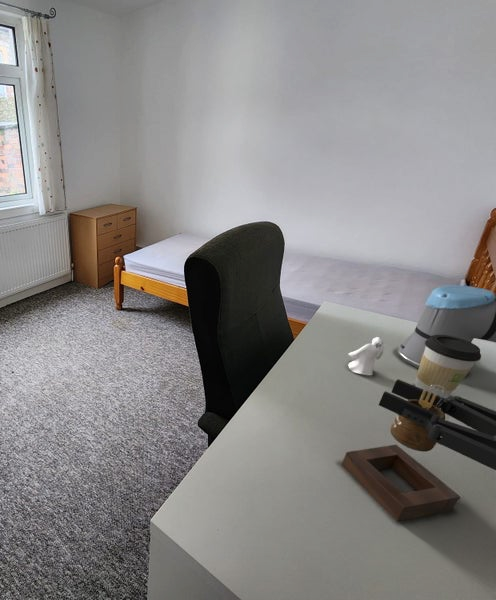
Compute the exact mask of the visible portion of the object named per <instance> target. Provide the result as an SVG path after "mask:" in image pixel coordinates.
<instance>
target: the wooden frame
mask: <svg viewBox="0 0 496 600" xmlns="http://www.w3.org/2000/svg"><path fill="white" fill-rule="evenodd" d="M341 466H342V468H344V470H346V472H348V473H349V475H350V476H352V478H353V479H354V480H356V481H357V482H358V484H360V485H361V487H363V488H364V489H365V491H366V492H367V493H368V494H369V495H370V496H371V497H372V498H373V499H374V500H375V501H376V502H377V503H378V504H379V505H380V506H381V507H382V508H383V509H384V510H385V511H386V512H387V513H388V514H389V515H390V516H391V517H392V518H393V520H395V521H396V522H399V521H404V520H410V519H415V518H419V517H426V516H430V515H435V514H440V513H445V512H446V513H447V512H451V511H453V510H454V508H455V507H456V505H457V503H458V502H459V500H460V499H461V496H460V495H459V494H458V493H457V492H455V491H454V490H453V489H452V488H451V487H450V486H448V485H447V484H446V483H445V482H443V481H442V480H441V479H439V478H438V477H437V476H436V475H435V474H434V473H432V472H431V471H430V470H428V468H426V467H424V466H423V465H422V464H421V463H420V462H419V461H417V460H416V459H415V458H414V457H412V456H411V455H410V454H408V453H407V452H406V451H405V450H403V448H401V447H400V446H399V445H397V444H391V445H383V446H377V447H371V448H365V449H358V450H351V451H346V452H345V455H344V457H343V459H342V462H341ZM390 468H391V469H392V470H393V471H394V472H396V473H397V474H398V475H399V476H400V477H401V478H402V479H403V480H405V482H407V483H408V484H409V485H410V486H411V487H413V488H414V489H415V490H414V491H408V492H402V491H400V489H399V488H398V487H396V486H395V485H394V483H392V482H391V481H390V480H389V479H388V478H386V476H384V474H382V473H381V472H380V471H379V470H384V469H390Z"/></svg>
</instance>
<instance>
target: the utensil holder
mask: <svg viewBox="0 0 496 600" xmlns="http://www.w3.org/2000/svg"><path fill="white" fill-rule="evenodd" d="M432 386H433V385H432ZM435 386H436V385H435ZM435 386H434V387H435ZM438 386H439V385H438ZM430 387H431V386H430ZM440 387H442V386H440ZM432 388H433V387H432ZM443 388H444V387H443ZM443 388H442V389H443ZM428 389H429V388H428ZM444 389H445V388H444ZM431 390H432V389H431ZM437 390H438V389H437ZM439 390H440V389H439ZM429 391H430V390H429ZM426 392H427V391H426V390H424V391H423V393H422V395H421V398H420V400H416V399H411V400H407V401H409V402H411V403H413V404H416V405H418V406H420V407H422V408H425V409H427V410H429V411H431V412H434V413H439V418H441V419H444V420H446V414H444V412H443V411H442V410H441V408H440V409H439V408H438V407H436V406H435V405H433V402H434V400H435V397H436V394H434V395H433V397H432V399H431V402H430V403H429V402H428V400H429V397H430V395H431V391H430V392H428V394H427V396H426V398H425V396H424V395H425V394H426ZM436 392H437V391H436ZM438 392H439V391H438ZM437 394H438V393H437ZM444 394H445V393H444ZM442 395H443V394H442ZM446 395H447V392H446ZM443 396H444V395H443ZM445 397H446V396H445ZM423 398H425V401H424V400H423ZM442 398H443V397H442ZM441 400H442V399H441ZM443 401H444V400H443ZM442 403H443V402H442ZM442 403H441V404H442ZM438 404H439V402H438ZM441 404H440V405H441ZM440 405H439V406H440ZM390 435H391V436H392V438H393V439H394V440H395V441H397V443H399V444H401V445H402V446H404V447H406V448H408V449H410V450H413V451H417V452H424V453H426V452H430V451H431V450H433V449H434V448H435V447H436V445H437V444H438V443H437V442H435V441H433V440H431V439H429V438H428V435H429V432H428V431H427V430H426V428H425V427H423V426H421V425H419V424H417V423H415V422H413V421H411V420H408V419H406V418H404V417H403V416H401V415H399V414H396V415H395V417H394V419H393V421H392V424H391V426H390Z"/></svg>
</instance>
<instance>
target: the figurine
mask: <svg viewBox="0 0 496 600" xmlns="http://www.w3.org/2000/svg"><path fill="white" fill-rule="evenodd" d="M383 344H384V341H383V339H382V337H379V336H375V337H374V338H372V340H371V343H366V344H364V345H363V346H362V347H360V348H358V349H357V350H354V351H350V352H349V353H347V356H349V357H351V358H357V357H358V358H357V359H356V360H352V361H350V362H349V363H348V364H347V367H348V369H350V371H351V372H353V373H355V374H360V375H364V376H374V374H373V371H374V365H375V361H376V360H380V359H381V358H382V356H383V354H384V351H385V347H384V345H383Z"/></svg>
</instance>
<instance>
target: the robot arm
mask: <svg viewBox="0 0 496 600" xmlns="http://www.w3.org/2000/svg"><path fill="white" fill-rule="evenodd" d="M433 335H448V336H453V337H457V338H460V339H463V340H466V341H469V342H471V343H473V340H474V339H476V340H482V341H486V342H492V343H496V294H495V293H494V292H493V291H491V290H489V289H486V288H480V287H478V286H477V287H476V286H470V285H455V284H453V285H442V286H438V287H437V288H435V289H433V290H432V291H431V293H430V295H429V296H428V297H427V299H426V301H425V305H424V307H423V311H422V312H421V315H420V316H419V319H418V321H417V324H416V326H415V329H414V331H413V332H412V333H411V334H410V335H409V336H408V337H406V339H405V340H404V341H402V343H400V344H399V346H398V348H397V350H396V355H397V357H398V358H399V359H401V360H402V361H403V362H405V363H407V365H410V366H412V367H414V368H416V369H417V370H419V366H420V362H421V359H422V355H423V352H424V351H425V347H426V345H425V341H426V340H427V339H429V338H430V337H431V336H433ZM423 391H424V390H423V389H421V388H418V387H416V386H415V385H413V384H412V383H408V382H406V381H403V380H402V379H399V378H398V379H396V380H395V382H394V385H393V387H392V390H391V393H390V392H388V391H383V393H382V395H381V398H380V400H379V403H378V406H380V407H381V408H384V409H386V410H388V411H390V412H393V413H395V414H396V415H397V414H399V415H401V416H403V417H404V418H406V419H408V420H411V421H413V422H415V423H417V424H419V425H421V426H423V427H425V428H426V430H427V431H428V432H429V435H428V438H429V439H431V440H433V441H435V442H437V443H436V444H439V445H441V446H443V447H445V448H448V449H450V450H452V451H454V452H456V453H459V454H460V455H462V456H464V457H466V458H469V459H471V460H473V461H475V462H477V463H479V464H481V465H483V466H486V467H488V468H490V469H492V470H494V471H496V410H493V409H491V408H488V407H486V406H484V405H481V404H479V403H476V402H474V401H471V400H469V399H466V398H464V397H461V396H458V395H454V396H453V398H452V397H448V398H446V399H445V398H442V397H440V396H438V395H436V397H435V400H434V402H433V405H435V406H436V407H438V408H439V409H441V410H442V411H443V412H444V414H445V415H448V416H450V418H453V419H455V420H457V421H459V422H460V423H462V424H464V425H461V424H458V423H455V422H452V421H449V420H447V419H445V420H444V419H441V418H439V413H434V412H431V411H429V410H427V409H425V408H422V407H420V406H418V405H416V404H413V403H411V402H409V401H408V400H411V399H416V400H420V398H421V395H422V393H423ZM427 394H428V391H427V392H426V394H425V395H424V396H425V398H426V396H427ZM433 395H434V394H433V393H431V395H430V397H429V400H428V402H429V403H430V402H431V399H432V397H433ZM425 398H423V400H424V401H425ZM441 399H442V400H441ZM443 400H444V401H443ZM438 402H439V404H438ZM442 402H443V403H442ZM441 403H442V404H441ZM440 404H441V405H440ZM439 405H440V406H439ZM467 426H468V427H467Z"/></svg>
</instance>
